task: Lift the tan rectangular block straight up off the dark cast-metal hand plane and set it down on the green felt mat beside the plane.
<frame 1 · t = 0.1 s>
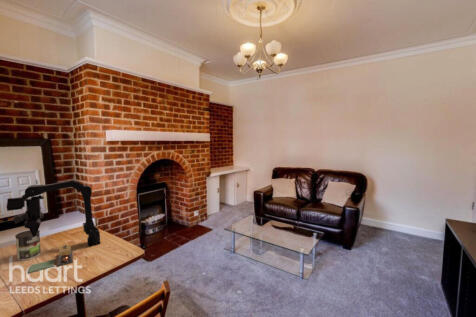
hand: (35, 233, 125), 15 cm above the table, fingers open, 9 cm apart
tan rectangular block: (65, 252, 125), point 4 cm above the table, touching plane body
coffee can: (29, 256, 128), on the table
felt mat: (42, 266, 118), on the table
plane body: (65, 258, 125), on the table
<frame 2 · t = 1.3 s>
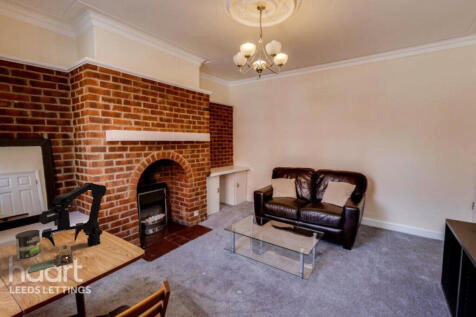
hand: (64, 243, 124), 9 cm above the table, fingers open, 9 cm apart
nothing on the table moved.
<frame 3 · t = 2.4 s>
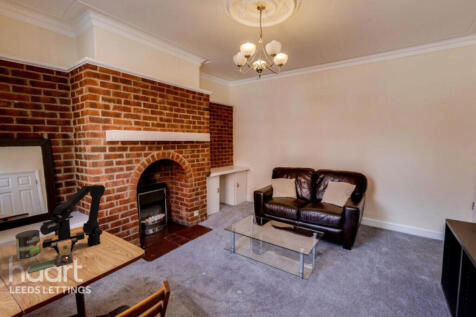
hand: (65, 253, 125), 3 cm above the table, fingers closed on tan rectangular block, 5 cm apart
tan rectangular block: (65, 252, 125), point 4 cm above the table, touching gripper, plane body
everything else where it was.
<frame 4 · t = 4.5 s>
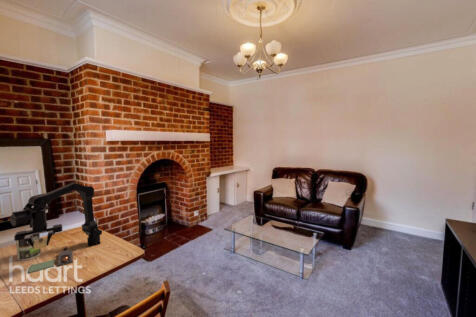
hand: (41, 247, 117), 11 cm above the table, fingers closed on tan rectangular block, 5 cm apart
tan rectangular block: (40, 245, 117), point 12 cm above the table, touching gripper
everything else where it was.
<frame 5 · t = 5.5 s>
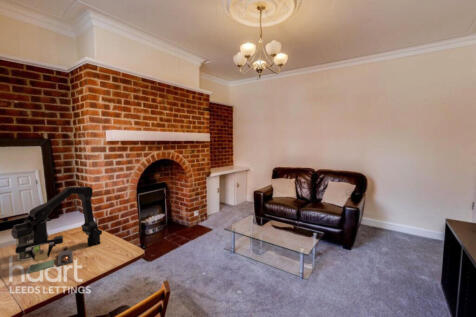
hand: (41, 258, 117), 4 cm above the table, fingers closed on tan rectangular block, 5 cm apart
tan rectangular block: (41, 257, 117), point 5 cm above the table, touching gripper
everything else where it was.
when the fingers open (1 cm above the table, at t = 6.5 s): tan rectangular block drops 2 cm, resting on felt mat.
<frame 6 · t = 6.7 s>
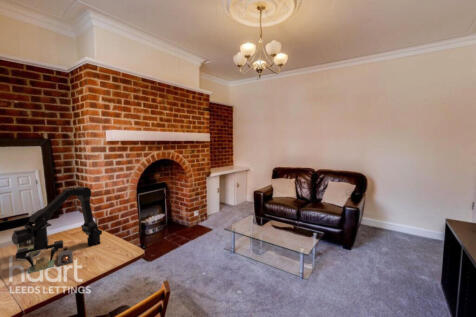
hand: (42, 263, 118), 1 cm above the table, fingers open, 7 cm apart
tan rectangular block: (42, 265, 118), point 1 cm above the table, touching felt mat
everything else where it was.
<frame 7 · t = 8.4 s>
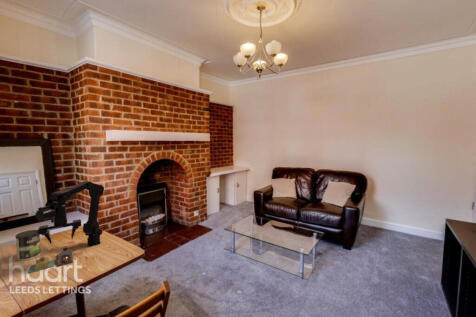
hand: (61, 241, 122), 12 cm above the table, fingers open, 9 cm apart
nothing on the table moved.
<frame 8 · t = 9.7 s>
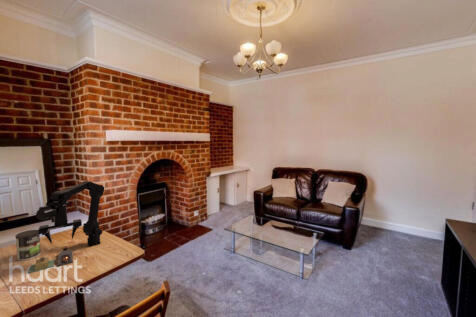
hand: (62, 240, 122), 12 cm above the table, fingers open, 9 cm apart
nothing on the table moved.
at the end: tan rectangular block inside the target area on the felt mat (0.1 cm from its centre), point 0.6 cm above the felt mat's base; tan rectangular block touching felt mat; the gripper is holding nothing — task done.
